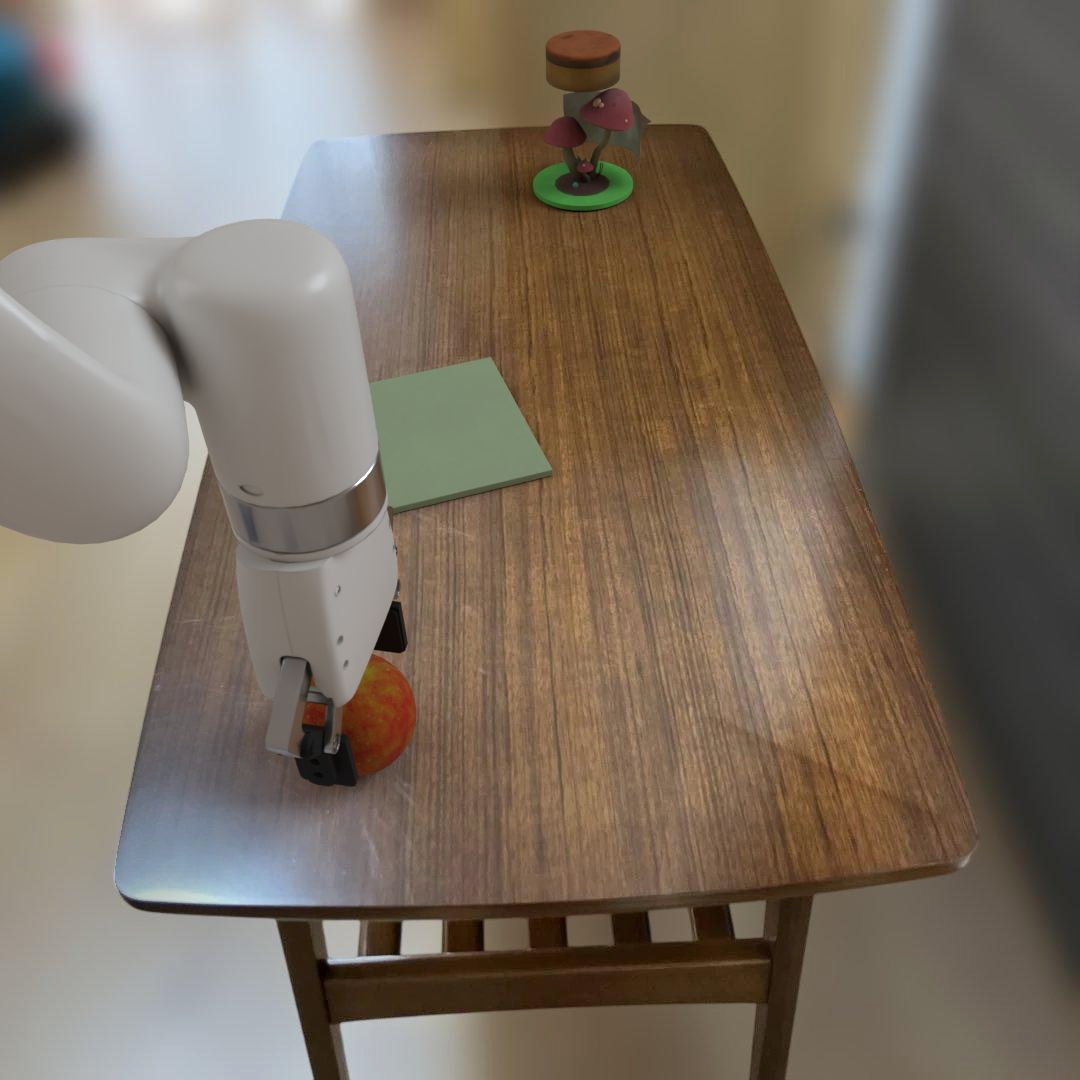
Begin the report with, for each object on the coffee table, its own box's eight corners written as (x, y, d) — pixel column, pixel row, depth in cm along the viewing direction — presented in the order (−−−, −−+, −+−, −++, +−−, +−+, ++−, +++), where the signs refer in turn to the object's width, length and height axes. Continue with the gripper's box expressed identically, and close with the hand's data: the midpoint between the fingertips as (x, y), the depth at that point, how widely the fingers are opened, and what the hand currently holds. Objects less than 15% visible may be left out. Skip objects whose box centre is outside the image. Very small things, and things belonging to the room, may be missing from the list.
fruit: (402, 808, 64) (385, 723, 59) (288, 789, 65) (261, 704, 60) (435, 713, 69) (422, 626, 64) (328, 696, 70) (307, 610, 65)
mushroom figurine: (613, 226, 113) (616, 76, 102) (508, 198, 118) (500, 52, 107) (666, 178, 120) (674, 34, 110) (564, 154, 125) (563, 13, 115)
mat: (318, 532, 81) (317, 526, 81) (282, 407, 92) (281, 401, 92) (552, 475, 85) (552, 469, 85) (491, 362, 96) (490, 356, 96)
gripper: (293, 371, 59) (343, 594, 71) (150, 609, 47) (239, 829, 59) (429, 384, 58) (457, 608, 70) (318, 631, 46) (375, 851, 58)
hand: (357, 709), depth 65 cm, fingers open, 9 cm apart
